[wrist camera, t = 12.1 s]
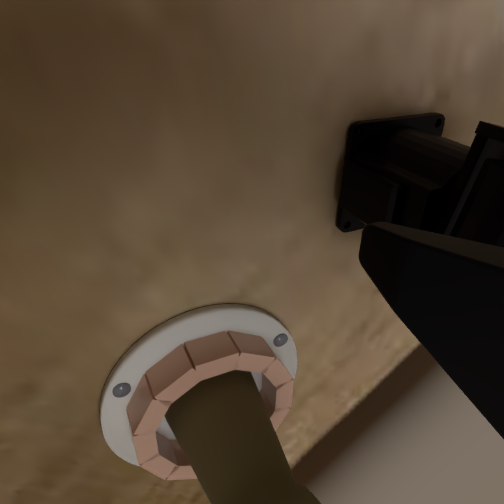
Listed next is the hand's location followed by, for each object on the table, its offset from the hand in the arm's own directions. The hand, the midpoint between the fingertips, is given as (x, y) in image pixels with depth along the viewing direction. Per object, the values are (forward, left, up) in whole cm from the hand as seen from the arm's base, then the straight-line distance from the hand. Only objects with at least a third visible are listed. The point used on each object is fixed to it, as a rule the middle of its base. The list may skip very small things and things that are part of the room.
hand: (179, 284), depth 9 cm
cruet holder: (-4, +17, -12) cm, 21 cm away
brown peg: (-4, +17, -11) cm, 21 cm away
